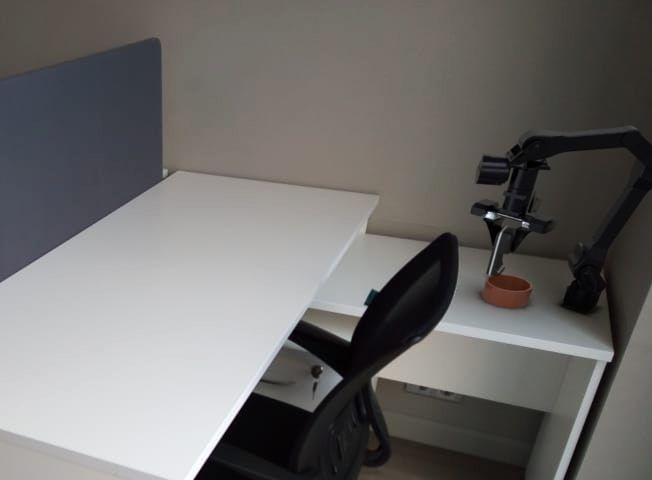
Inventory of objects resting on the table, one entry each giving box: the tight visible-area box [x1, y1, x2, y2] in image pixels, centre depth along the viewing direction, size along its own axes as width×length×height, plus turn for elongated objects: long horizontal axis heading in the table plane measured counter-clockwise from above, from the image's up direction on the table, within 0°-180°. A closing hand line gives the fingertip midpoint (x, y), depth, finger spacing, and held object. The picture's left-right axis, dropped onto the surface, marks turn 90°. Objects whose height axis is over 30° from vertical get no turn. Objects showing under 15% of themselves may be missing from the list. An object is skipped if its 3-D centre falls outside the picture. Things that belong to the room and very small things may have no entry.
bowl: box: [481, 273, 533, 309], centre depth 184 cm, size 11×11×4 cm
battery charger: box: [485, 225, 516, 276], centre depth 179 cm, size 7×4×11 cm, turn 143°
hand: (503, 249), depth 179 cm, fingers closed on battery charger, 4 cm apart
